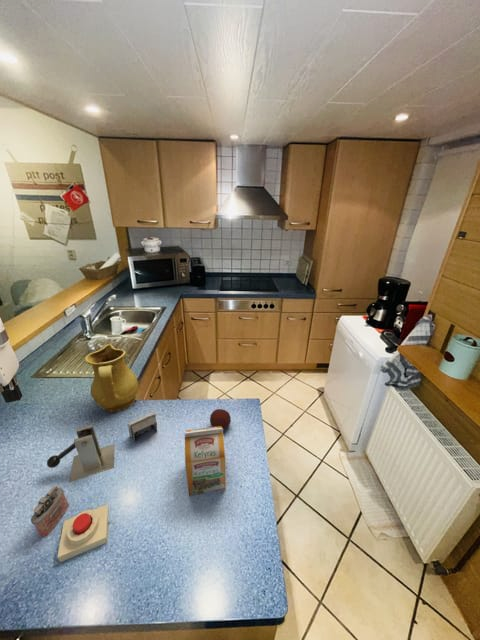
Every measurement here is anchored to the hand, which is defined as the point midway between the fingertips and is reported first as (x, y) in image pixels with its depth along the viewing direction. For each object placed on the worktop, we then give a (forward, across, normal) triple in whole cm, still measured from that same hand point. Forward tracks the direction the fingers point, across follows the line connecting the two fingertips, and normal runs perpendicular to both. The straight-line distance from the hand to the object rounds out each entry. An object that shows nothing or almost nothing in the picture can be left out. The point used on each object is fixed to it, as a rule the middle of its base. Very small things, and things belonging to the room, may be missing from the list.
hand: (14, 399), depth 67 cm
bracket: (+27, +5, +14) cm, 31 cm away
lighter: (+27, +19, +6) cm, 34 cm away
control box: (+27, +25, +14) cm, 39 cm away
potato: (+27, +6, +56) cm, 63 cm away
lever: (+19, +5, +10) cm, 22 cm away
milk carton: (+27, +22, +46) cm, 58 cm away
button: (+23, +25, +14) cm, 37 cm away
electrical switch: (+27, 0, +30) cm, 41 cm away
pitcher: (+27, -22, +20) cm, 40 cm away
